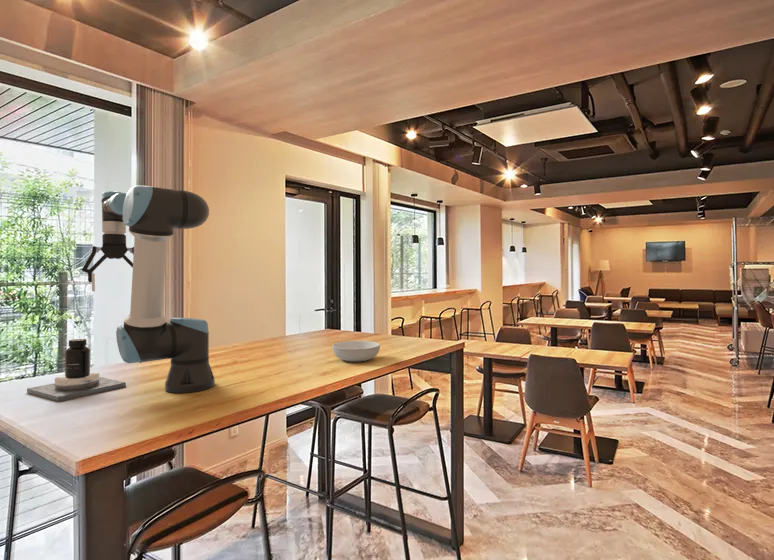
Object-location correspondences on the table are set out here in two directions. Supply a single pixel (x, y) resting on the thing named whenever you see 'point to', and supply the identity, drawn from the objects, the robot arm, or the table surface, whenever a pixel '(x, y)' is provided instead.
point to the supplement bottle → (77, 359)
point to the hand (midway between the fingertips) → (115, 290)
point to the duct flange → (75, 387)
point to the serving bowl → (356, 350)
